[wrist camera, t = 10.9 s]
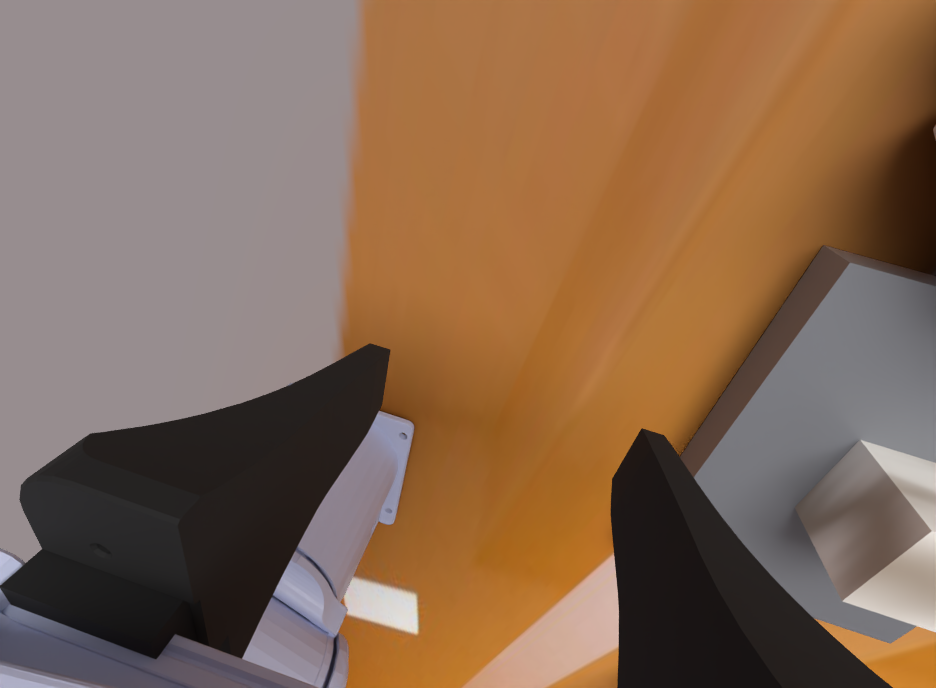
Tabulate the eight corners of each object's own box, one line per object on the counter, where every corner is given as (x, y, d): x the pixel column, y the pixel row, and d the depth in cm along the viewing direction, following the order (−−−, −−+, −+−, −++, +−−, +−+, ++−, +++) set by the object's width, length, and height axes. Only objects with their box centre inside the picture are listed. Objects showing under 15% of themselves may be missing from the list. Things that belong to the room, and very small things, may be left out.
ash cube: (892, 538, 21) (962, 641, 17) (794, 507, 21) (842, 601, 17) (971, 473, 18) (1073, 576, 14) (860, 439, 19) (931, 530, 15)
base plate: (869, 606, 26) (890, 643, 24) (631, 528, 27) (634, 558, 25) (1213, 353, 16) (1288, 384, 14) (823, 244, 17) (850, 262, 15)
